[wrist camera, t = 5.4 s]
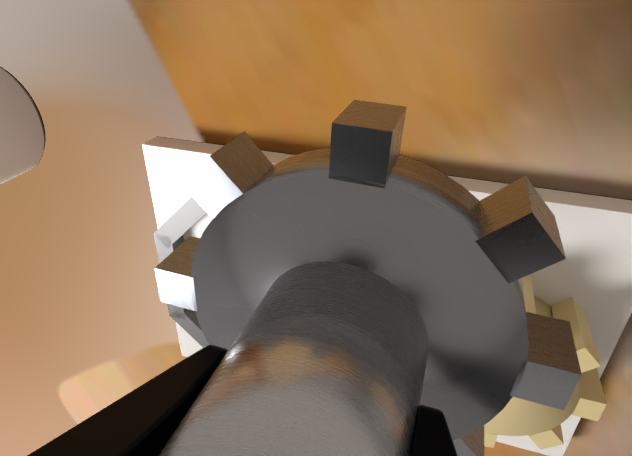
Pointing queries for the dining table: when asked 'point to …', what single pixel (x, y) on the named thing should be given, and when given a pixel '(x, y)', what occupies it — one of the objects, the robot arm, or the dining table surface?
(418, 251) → the planet gear
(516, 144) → the dining table surface
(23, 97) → the can
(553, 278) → the plate
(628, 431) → the dining table surface
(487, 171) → the dining table surface
